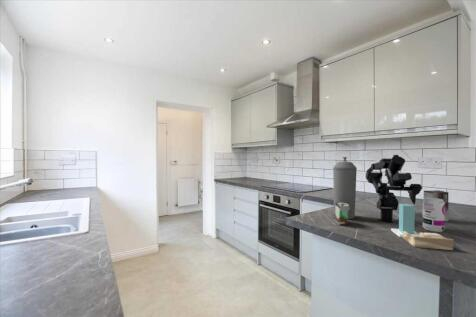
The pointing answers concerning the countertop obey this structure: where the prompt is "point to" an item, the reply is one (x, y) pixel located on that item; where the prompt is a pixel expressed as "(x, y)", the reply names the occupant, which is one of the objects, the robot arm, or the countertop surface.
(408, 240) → the oak rack
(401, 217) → the teal rectangular block
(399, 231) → the white pad
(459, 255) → the countertop surface
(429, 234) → the offcut top
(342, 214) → the food container
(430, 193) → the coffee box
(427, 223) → the supplement can
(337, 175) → the canister
